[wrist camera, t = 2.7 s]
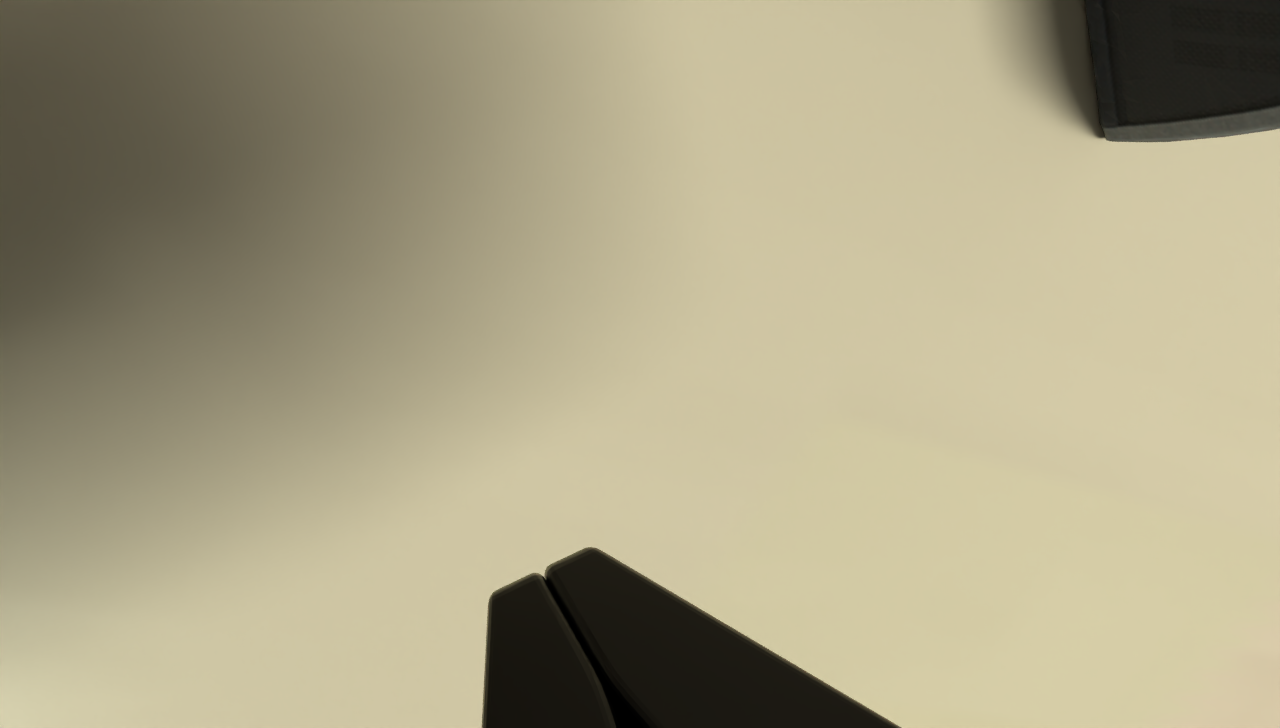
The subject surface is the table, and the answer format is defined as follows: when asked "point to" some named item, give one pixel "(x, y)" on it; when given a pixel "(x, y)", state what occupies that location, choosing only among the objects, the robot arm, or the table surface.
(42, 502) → the table surface
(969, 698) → the table surface
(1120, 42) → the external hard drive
